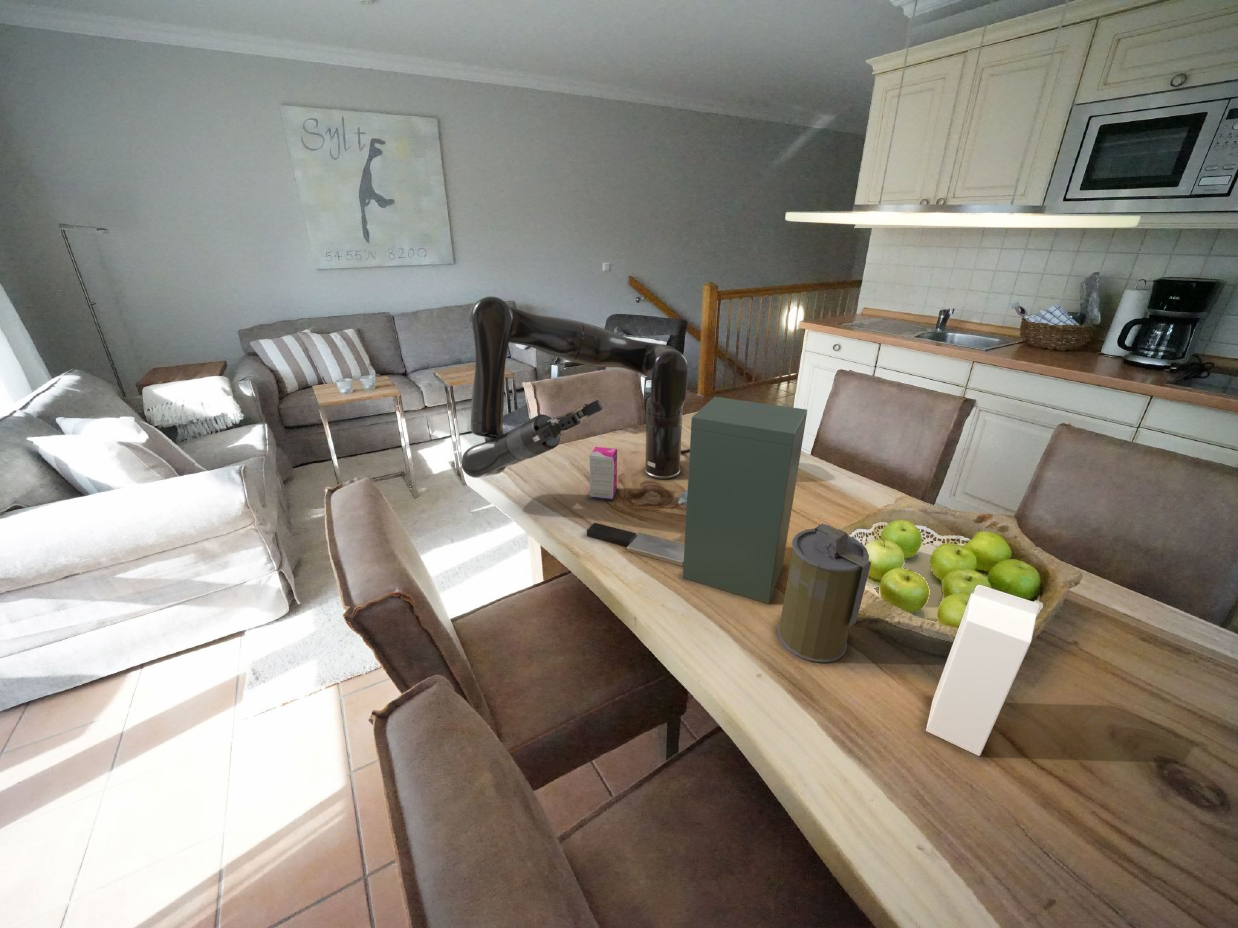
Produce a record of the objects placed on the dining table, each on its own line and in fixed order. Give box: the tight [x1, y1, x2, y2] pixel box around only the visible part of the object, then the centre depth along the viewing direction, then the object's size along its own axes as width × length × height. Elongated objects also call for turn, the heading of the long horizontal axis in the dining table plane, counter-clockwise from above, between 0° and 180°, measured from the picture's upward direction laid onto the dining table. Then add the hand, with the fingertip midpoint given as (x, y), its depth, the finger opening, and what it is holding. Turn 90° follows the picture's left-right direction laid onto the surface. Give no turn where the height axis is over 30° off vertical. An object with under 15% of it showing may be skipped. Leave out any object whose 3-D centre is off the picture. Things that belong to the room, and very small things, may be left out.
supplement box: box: [588, 446, 618, 501], centre depth 122 cm, size 6×6×12 cm
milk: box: [925, 584, 1041, 757], centre depth 62 cm, size 6×6×22 cm
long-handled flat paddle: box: [586, 522, 685, 567], centre depth 105 cm, size 6×22×2 cm, turn 64°
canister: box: [777, 523, 872, 663], centre depth 77 cm, size 11×10×20 cm
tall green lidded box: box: [682, 396, 808, 605], centre depth 90 cm, size 12×16×32 cm
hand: (589, 411), depth 97 cm, fingers open, 8 cm apart
